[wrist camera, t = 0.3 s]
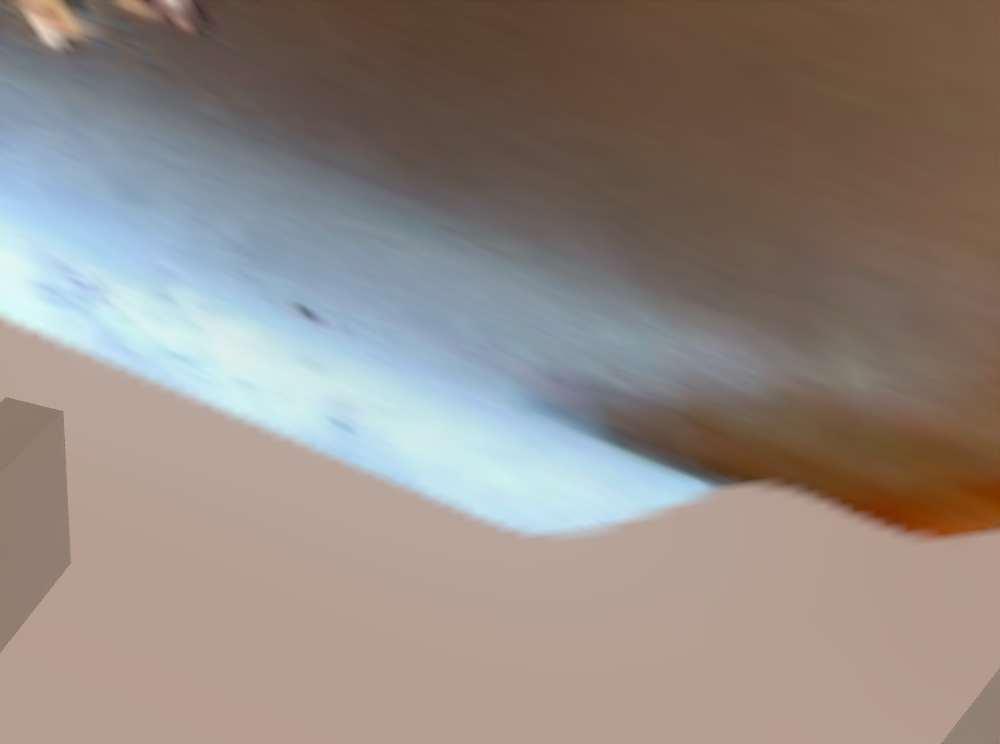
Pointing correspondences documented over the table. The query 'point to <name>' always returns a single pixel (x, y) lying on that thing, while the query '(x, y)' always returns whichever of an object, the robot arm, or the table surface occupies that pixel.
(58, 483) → the robot arm
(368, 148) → the table surface
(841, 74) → the table surface
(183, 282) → the table surface
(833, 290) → the table surface
